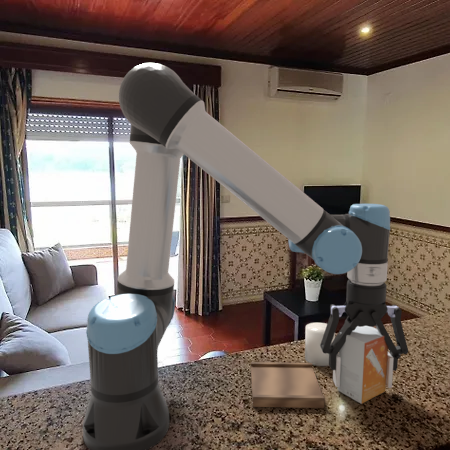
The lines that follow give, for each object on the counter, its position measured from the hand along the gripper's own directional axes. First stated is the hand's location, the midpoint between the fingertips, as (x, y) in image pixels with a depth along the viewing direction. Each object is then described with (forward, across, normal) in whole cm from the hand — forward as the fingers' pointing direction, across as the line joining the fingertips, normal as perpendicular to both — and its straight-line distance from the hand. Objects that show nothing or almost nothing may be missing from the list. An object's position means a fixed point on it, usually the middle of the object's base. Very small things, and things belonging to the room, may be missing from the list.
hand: (361, 383), depth 82 cm
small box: (+2, 0, 0) cm, 2 cm away
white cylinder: (+2, -6, +15) cm, 16 cm away
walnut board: (+2, -16, +1) cm, 16 cm away
